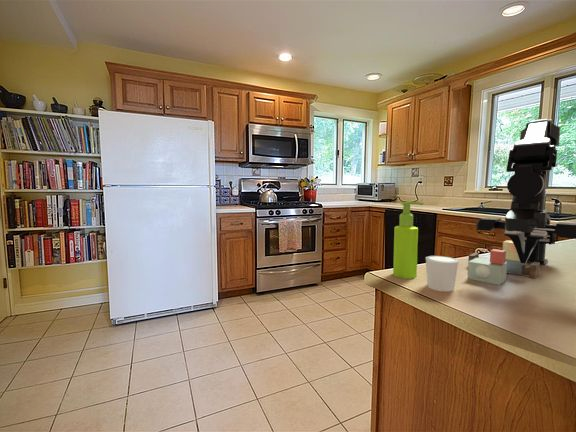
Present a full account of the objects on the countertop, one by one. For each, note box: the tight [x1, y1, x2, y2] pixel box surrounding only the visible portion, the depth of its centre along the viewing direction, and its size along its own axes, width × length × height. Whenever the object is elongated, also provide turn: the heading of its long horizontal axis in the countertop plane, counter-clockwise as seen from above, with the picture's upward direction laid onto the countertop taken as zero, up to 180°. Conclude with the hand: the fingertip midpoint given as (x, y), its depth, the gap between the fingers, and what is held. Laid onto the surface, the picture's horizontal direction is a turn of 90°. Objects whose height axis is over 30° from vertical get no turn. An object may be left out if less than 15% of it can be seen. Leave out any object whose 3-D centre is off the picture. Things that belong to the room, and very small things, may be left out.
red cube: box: [489, 248, 506, 264], centre depth 72 cm, size 3×3×3 cm
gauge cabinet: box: [467, 257, 508, 286], centre depth 74 cm, size 6×7×4 cm
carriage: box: [502, 239, 527, 275], centre depth 79 cm, size 5×5×8 cm
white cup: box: [425, 255, 459, 293], centre depth 68 cm, size 7×7×7 cm
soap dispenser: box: [392, 201, 424, 279], centre depth 77 cm, size 6×7×20 cm
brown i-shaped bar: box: [467, 252, 541, 279], centre depth 81 cm, size 15×5×3 cm, turn 40°
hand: (523, 263), depth 68 cm, fingers closed
